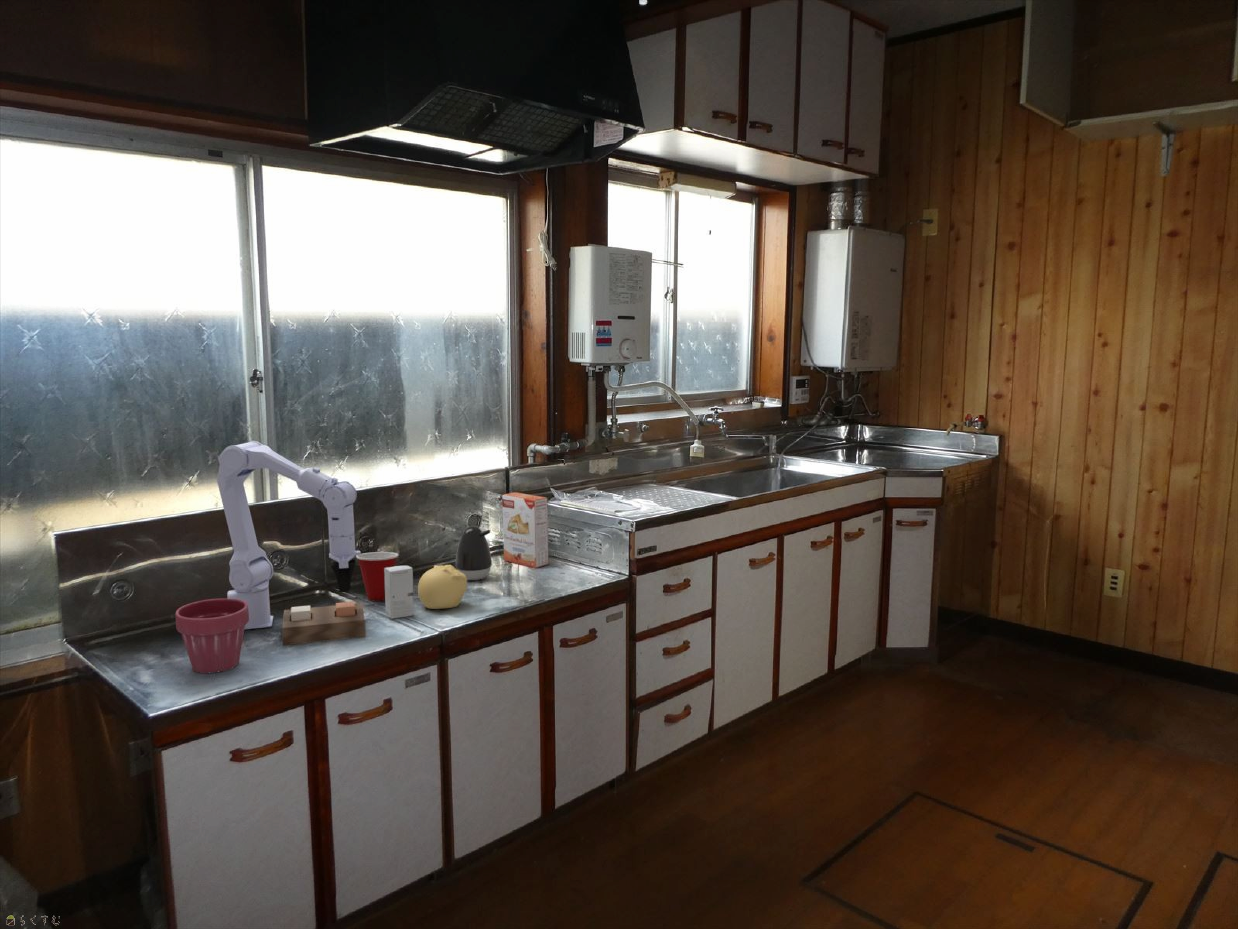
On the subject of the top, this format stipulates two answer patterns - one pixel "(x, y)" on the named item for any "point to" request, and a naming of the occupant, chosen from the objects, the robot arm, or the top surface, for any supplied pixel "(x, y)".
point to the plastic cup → (375, 572)
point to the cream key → (300, 613)
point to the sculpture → (442, 587)
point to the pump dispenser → (473, 554)
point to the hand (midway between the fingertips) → (344, 590)
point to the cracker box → (525, 529)
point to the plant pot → (213, 632)
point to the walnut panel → (323, 626)
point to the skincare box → (399, 591)
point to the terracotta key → (345, 609)
